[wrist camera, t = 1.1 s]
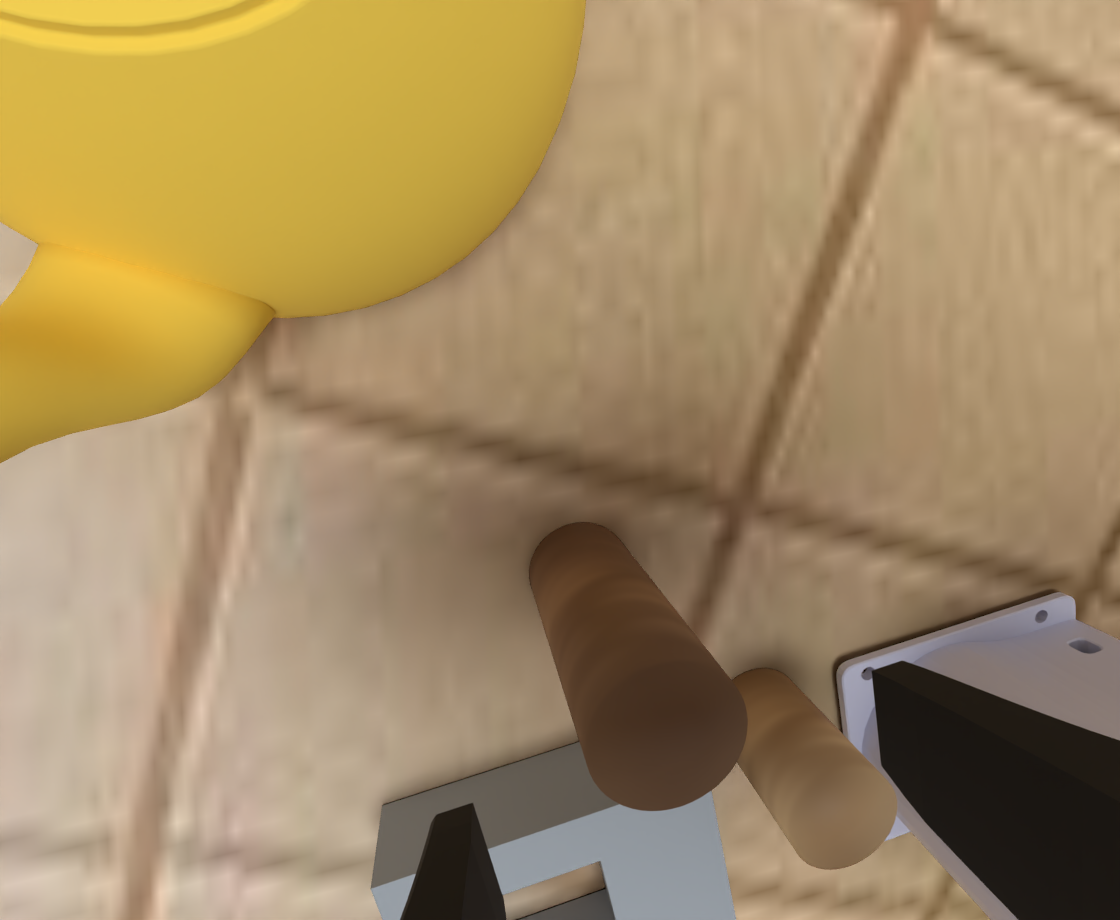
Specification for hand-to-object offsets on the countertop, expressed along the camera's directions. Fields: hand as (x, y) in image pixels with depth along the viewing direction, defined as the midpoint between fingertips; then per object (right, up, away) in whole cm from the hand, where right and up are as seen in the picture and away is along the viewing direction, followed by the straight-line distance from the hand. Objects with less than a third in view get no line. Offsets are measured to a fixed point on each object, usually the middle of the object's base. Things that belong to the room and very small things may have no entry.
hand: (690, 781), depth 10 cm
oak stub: (+5, -3, +11) cm, 13 cm away
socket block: (-2, -8, +11) cm, 14 cm away
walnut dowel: (-2, +2, +9) cm, 9 cm away
